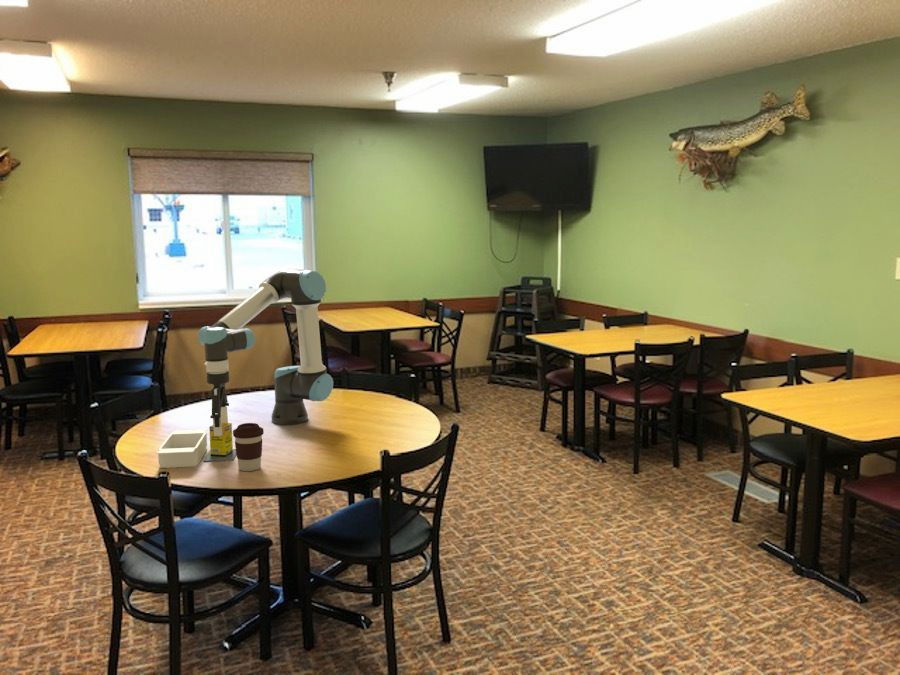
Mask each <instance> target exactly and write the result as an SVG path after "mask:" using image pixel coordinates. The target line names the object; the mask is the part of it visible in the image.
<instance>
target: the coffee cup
mask: <svg viewBox="0 0 900 675" xmlns="http://www.w3.org/2000/svg"><path fill="white" fill-rule="evenodd" d="M264 431H265V430H264V428H263V427H261V426H260V425H259V423H255V422H254V423H253V422H246V423H241V424H239V425H237V427H236V428H234V429H232V437H234V444H235V449H236V456H235V457H236V459H237V468H238V469H239V470H240V471H242V472H253V471H257V470H259V469H260V468H261V467H262V466H261V465H262V455H263V454H262V453H263V437H262V436H263V435H264Z"/></svg>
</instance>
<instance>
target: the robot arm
mask: <svg viewBox="0 0 900 675" xmlns="http://www.w3.org/2000/svg"><path fill="white" fill-rule="evenodd" d="M326 291H327V285H326V281H325V278H324V276H323V275H321V274H320V272H318V271H316V270H311V269H297V268H296V269H293V268H285V269H282V270H280V271H278V272H276V273H274V274H272V275H271V276H268V278H266V279H264V280H263V281H262V282H261V283H260V284H258V288H257V289H256V290H255V291H254V292H253V293H251V294H250V295H249V296H248V297H246V298H245V299H244V300H242V301H241V302H240V303H239V304H237V305H236V306H235V307H234V308H232V309H231V310H230V311H228V313H226V314H225V315H223V316H222V317H221V318H220V319H218V320H217V322H215V323H214V324H212V325H211V326H210V325H207V326H203V327H201V328H200V329H199V331H198V332H197V339H198V342H199V343H200V344H201V346H204V356H205V358H204V359H205V362H204V363H203V365H204V366H206V367H205V370H206V371H205V372H206V375H205V377H206V383H207V384H208V385H212V386H213V388H212V389H211V414H210V419H212V425H213V428H214V436H222V423H229V421H228V420H229V418H228V417H229V415H228V407H229V406H230V403H229V401H228V396H227V389H226V384H227V383H228V382H230V372H229V369H230V368H229V367H230V366H229V353H233V352H239V351H245V350H247V349H251V348H253V347H254V345H255V342H256V338H255V337H256V336H255V333H254V332H253V331H252V330H251V328H248V327H247V328H243V327H244V326H246V324H248V323H249V322H250V321H252V320H253V319H254V318H256V317H257V316H258V315H259V314H260V313H261V312H262V311H264V310H265V309H266V308H268V307H269V306H270V305H271V304H275V303H278V301H280V300H282V299H291V300H290V302H291V306H293V307H294V309H295V314H296V326H297V336H298V347H299V350H298V351H299V360H300V365H289V366H282V367H278V368H276V369H275V371H274V378H273V381H274V400H275V402H274V407H273V410H272V413H271V422H272V423H274V424H276V425H286V426H287V425H289V426H290V425H298V424H301V422H302V423H305V422H307V421H308V420H309V414H308V411H307V408H306V406H305V402H304V400H306V401H311V402H323V401H325V400H327V399H328V398H329V397H330V396H331V394H332V391H333V388H334V379H333V377H332V376H331V375H330V374H329V373H327V367H326V365H324V364H323V361H322V359H323V358H322V347H321V346H322V344H321V336H320V335H321V334H320V322H319V310H318V306H319V305H321V302H322V301H321V300H322V299H323V298H324V297H325V293H326ZM307 419H308V420H307ZM306 420H307V421H306ZM304 421H305V422H304ZM297 423H298V424H297Z"/></svg>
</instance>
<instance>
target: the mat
mask: <svg viewBox="0 0 900 675" xmlns="http://www.w3.org/2000/svg"><path fill="white" fill-rule="evenodd" d="M236 457H237V456H236V448H233V452H232V453H230V454H229V455H227V456H226V457H219V456H211V454H210V449H209V451H208V452H207V454H206V456H205V458H204V460H203V462H204V463H209V462H211V463H212V462H231V461H234V460H235V458H236Z"/></svg>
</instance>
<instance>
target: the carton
mask: <svg viewBox="0 0 900 675" xmlns="http://www.w3.org/2000/svg"><path fill="white" fill-rule="evenodd" d="M207 431H208V430H207V428H206V429H186V430H185V429H183V430H173V431H172V433H170V434H169V435H168V436H167V438H166V439H165V440H164V441H163V442H162V443H161V445H160V446H159V448H158V449H157V452H156V455H158V464H159V469H164V468H165V469H166V468H167V469H168V468H186V467H187V468H188V467H189V468H190V467H198V466H199V464H200V462H201V460H202V459H203V457H204V455H205V453H206V451H207V448H208V436H207V435H208V434H207Z"/></svg>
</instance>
